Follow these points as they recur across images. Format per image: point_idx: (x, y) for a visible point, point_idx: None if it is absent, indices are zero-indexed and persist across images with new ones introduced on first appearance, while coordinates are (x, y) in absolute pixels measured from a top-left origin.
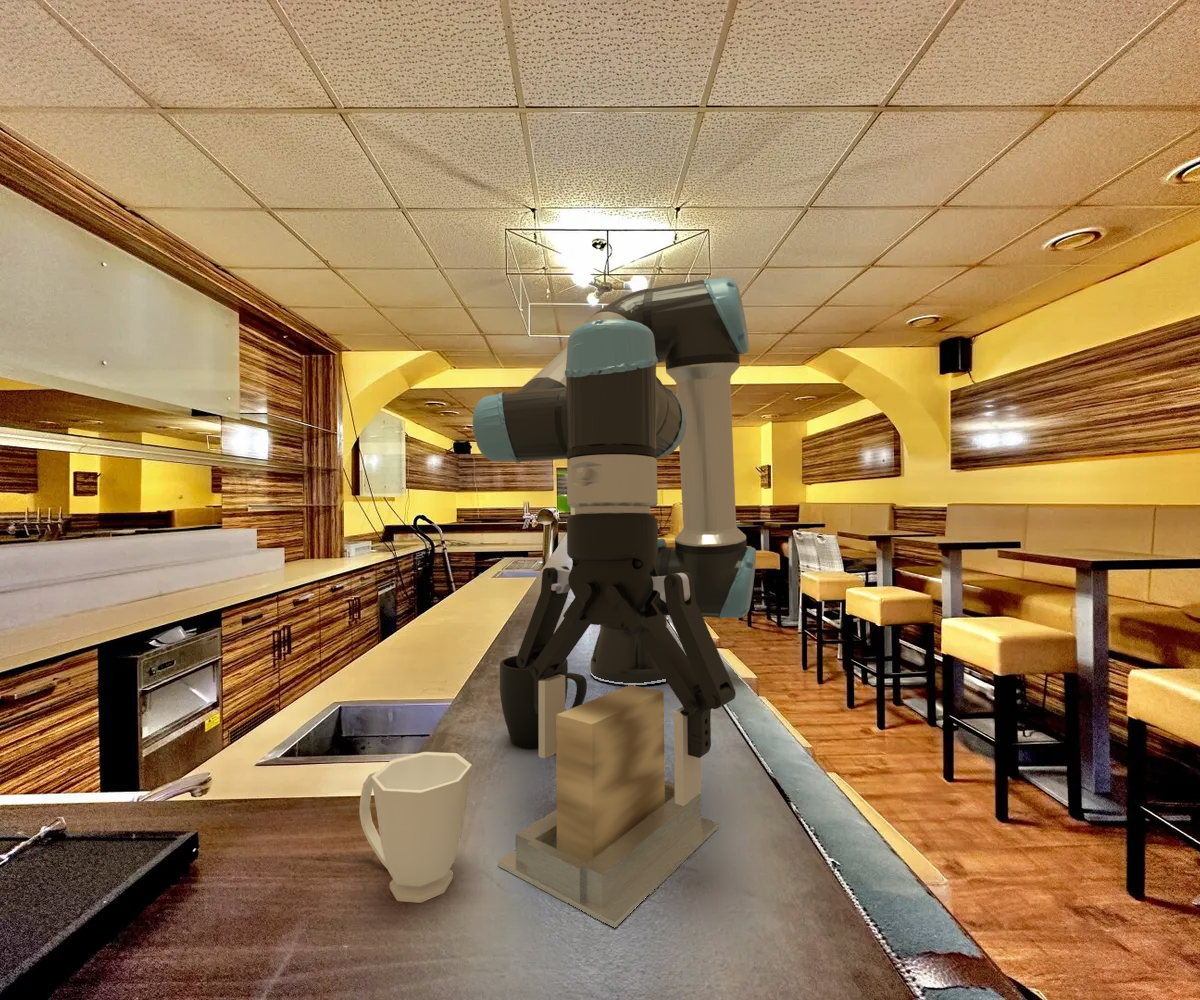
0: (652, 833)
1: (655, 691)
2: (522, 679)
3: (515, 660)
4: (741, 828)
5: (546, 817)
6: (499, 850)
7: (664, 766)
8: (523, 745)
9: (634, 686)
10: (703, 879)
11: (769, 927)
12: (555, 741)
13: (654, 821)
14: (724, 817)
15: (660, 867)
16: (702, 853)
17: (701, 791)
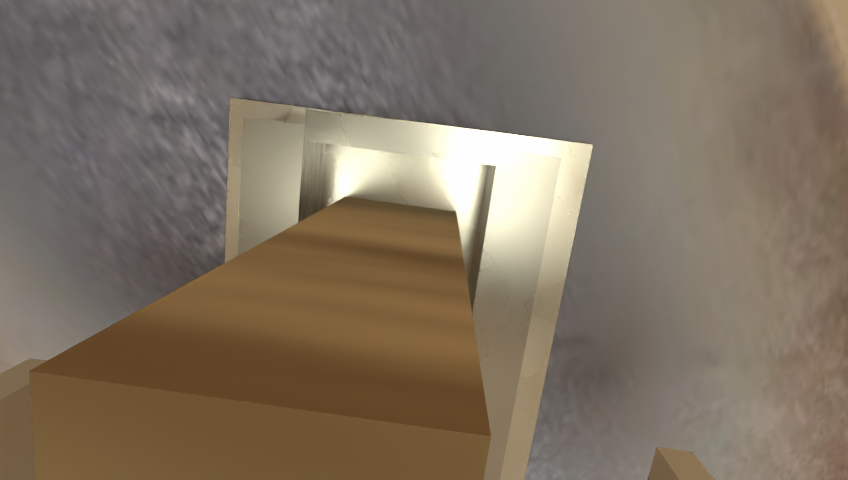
0: (509, 424)
1: (405, 468)
2: None
3: None
4: (648, 112)
5: None
6: None
7: (461, 245)
8: None
9: (109, 412)
10: (609, 361)
11: (759, 431)
12: (23, 447)
13: (491, 373)
14: (589, 77)
15: (521, 389)
16: (580, 274)
17: (692, 452)
